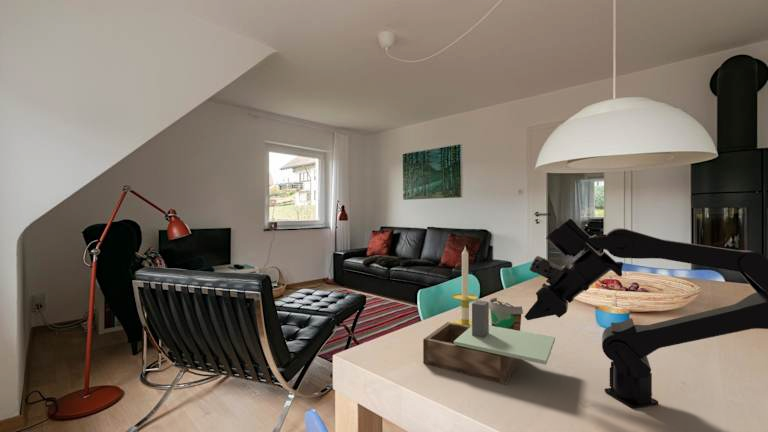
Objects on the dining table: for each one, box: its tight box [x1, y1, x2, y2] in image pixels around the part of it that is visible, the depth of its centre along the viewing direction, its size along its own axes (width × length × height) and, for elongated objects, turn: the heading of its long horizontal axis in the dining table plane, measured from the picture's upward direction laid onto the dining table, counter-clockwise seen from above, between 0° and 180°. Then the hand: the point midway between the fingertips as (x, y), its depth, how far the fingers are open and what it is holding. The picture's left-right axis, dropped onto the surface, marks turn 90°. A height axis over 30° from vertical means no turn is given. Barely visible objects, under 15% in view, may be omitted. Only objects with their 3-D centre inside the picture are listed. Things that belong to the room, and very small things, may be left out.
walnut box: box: [422, 321, 521, 385], centre depth 86 cm, size 20×16×6 cm
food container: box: [488, 297, 524, 331], centre depth 104 cm, size 12×6×10 cm, turn 21°
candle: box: [450, 246, 479, 326], centre depth 112 cm, size 10×10×27 cm
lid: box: [454, 299, 556, 365], centre depth 81 cm, size 20×16×9 cm
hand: (527, 315), depth 79 cm, fingers open, 4 cm apart
